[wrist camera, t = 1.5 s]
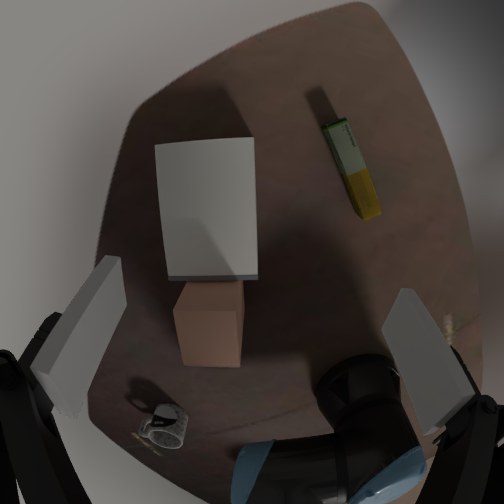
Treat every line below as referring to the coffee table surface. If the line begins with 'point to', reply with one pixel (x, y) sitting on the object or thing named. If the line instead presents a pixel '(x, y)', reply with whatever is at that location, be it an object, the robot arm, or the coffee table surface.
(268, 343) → the coffee table surface
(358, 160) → the medication box
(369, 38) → the coffee table surface
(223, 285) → the terracotta stub
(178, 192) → the light grey block
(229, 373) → the coffee table surface
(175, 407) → the mug
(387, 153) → the coffee table surface
